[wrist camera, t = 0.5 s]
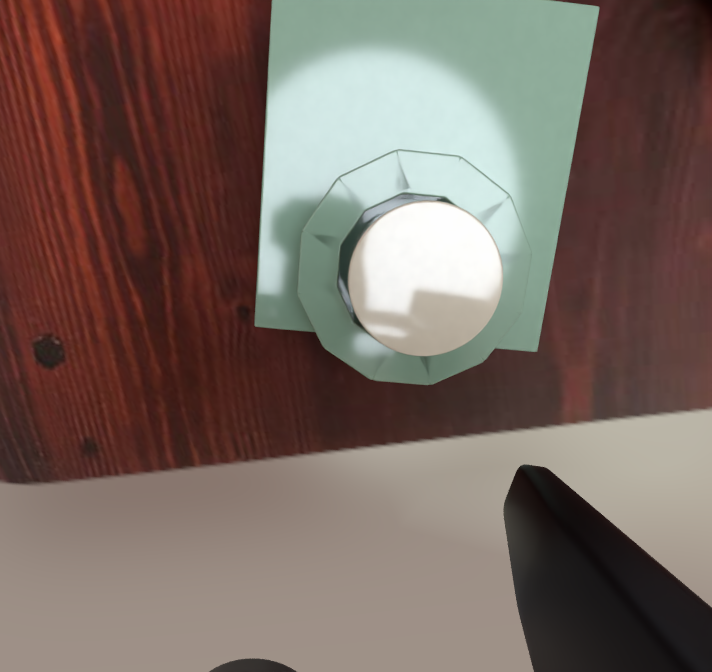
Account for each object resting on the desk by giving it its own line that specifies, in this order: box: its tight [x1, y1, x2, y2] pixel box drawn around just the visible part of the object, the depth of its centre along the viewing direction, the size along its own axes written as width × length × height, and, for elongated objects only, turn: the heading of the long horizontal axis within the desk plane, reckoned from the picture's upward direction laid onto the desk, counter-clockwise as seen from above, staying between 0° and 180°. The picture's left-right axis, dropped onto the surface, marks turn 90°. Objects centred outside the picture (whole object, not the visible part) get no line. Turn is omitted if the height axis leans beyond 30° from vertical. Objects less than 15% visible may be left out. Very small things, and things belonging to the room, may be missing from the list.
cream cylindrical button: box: [347, 200, 503, 356], centre depth 14 cm, size 4×4×2 cm
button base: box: [254, 0, 599, 385], centre depth 17 cm, size 12×10×6 cm
